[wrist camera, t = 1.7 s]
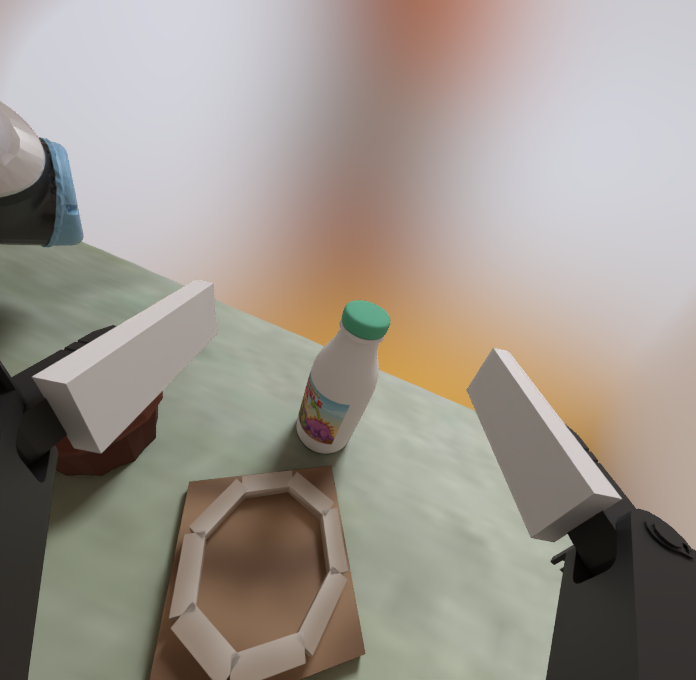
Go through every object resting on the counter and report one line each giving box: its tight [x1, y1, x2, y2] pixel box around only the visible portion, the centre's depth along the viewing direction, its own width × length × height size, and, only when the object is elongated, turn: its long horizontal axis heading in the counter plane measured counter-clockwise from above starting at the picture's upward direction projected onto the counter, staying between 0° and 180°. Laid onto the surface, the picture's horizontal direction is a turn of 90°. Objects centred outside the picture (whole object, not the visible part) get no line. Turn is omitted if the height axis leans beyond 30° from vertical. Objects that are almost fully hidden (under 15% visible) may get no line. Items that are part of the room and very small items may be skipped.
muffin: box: [55, 391, 163, 476], centre depth 26 cm, size 12×11×10 cm
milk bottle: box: [297, 300, 390, 454], centre depth 31 cm, size 8×8×20 cm
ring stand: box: [150, 466, 365, 680], centre depth 24 cm, size 15×15×3 cm
